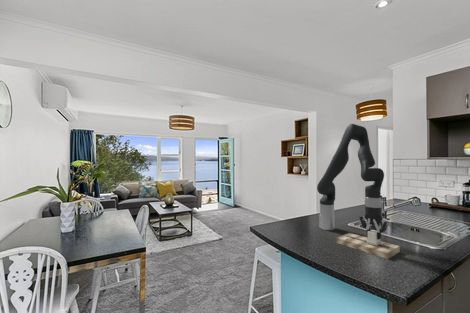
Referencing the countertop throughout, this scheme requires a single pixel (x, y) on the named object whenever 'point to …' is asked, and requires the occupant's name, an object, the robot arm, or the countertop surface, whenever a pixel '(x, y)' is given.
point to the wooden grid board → (368, 245)
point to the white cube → (373, 238)
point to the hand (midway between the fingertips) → (374, 237)
